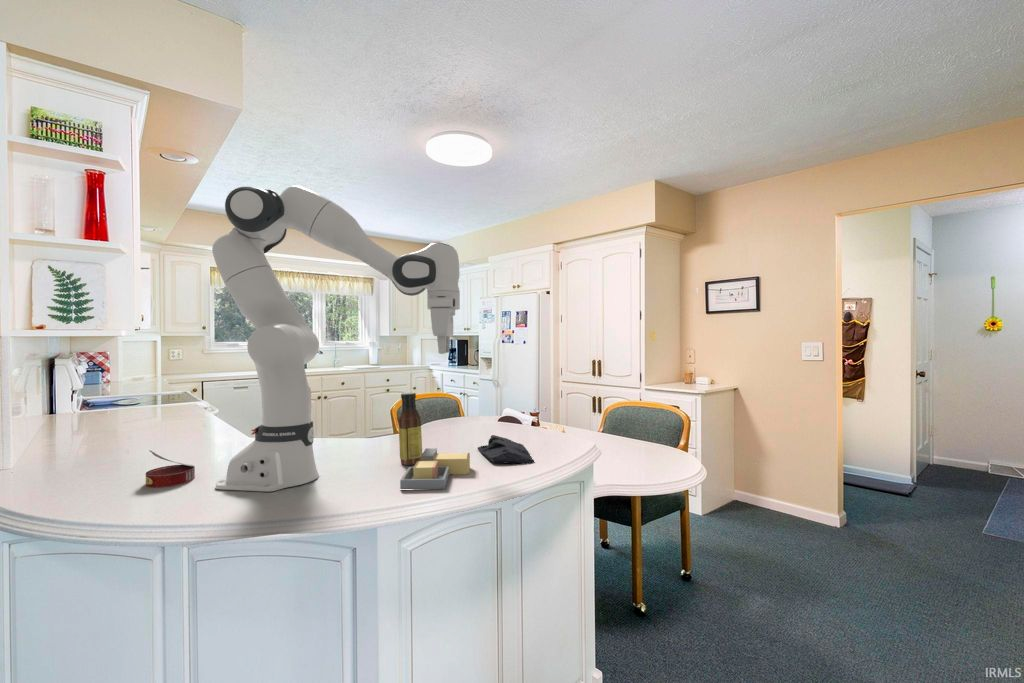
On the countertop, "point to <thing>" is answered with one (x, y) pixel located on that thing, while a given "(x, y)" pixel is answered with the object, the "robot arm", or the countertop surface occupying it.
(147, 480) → the canned food
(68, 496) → the countertop surface
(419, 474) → the stub
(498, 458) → the crumpled black cloth
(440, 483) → the tray
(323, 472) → the countertop surface
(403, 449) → the sauce bottle
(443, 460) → the beige boxy piece
